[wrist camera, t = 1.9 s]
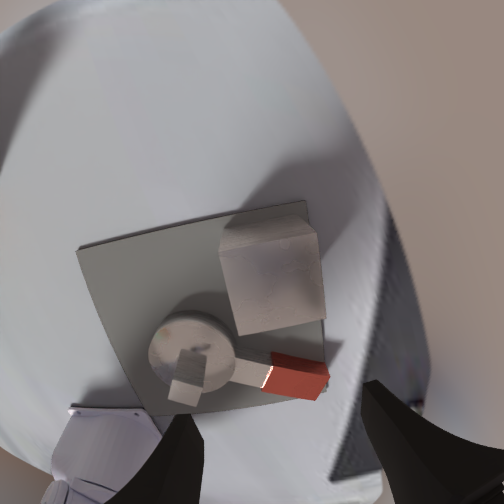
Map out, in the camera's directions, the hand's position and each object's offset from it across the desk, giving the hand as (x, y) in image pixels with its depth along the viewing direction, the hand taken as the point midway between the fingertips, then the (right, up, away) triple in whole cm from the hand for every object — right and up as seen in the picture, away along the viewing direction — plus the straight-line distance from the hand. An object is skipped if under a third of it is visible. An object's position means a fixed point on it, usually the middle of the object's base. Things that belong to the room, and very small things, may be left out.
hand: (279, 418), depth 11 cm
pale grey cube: (0, +7, +8) cm, 11 cm away
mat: (-4, +1, +10) cm, 11 cm away
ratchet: (-2, -1, +10) cm, 11 cm away
